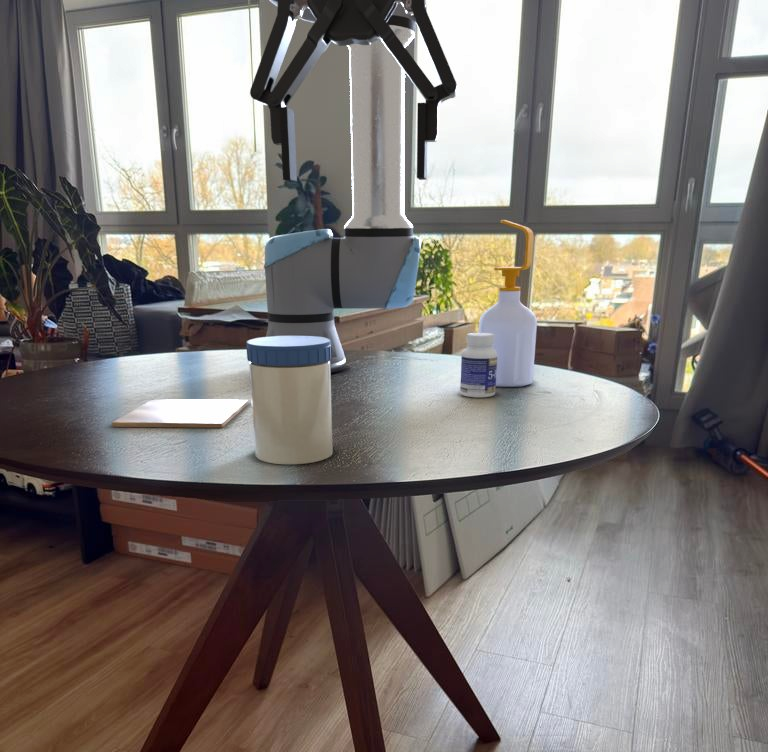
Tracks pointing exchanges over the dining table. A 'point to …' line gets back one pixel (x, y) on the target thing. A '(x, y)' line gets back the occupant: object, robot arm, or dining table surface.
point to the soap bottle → (512, 325)
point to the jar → (292, 412)
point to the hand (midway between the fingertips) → (355, 180)
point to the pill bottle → (478, 366)
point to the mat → (182, 413)
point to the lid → (289, 350)
